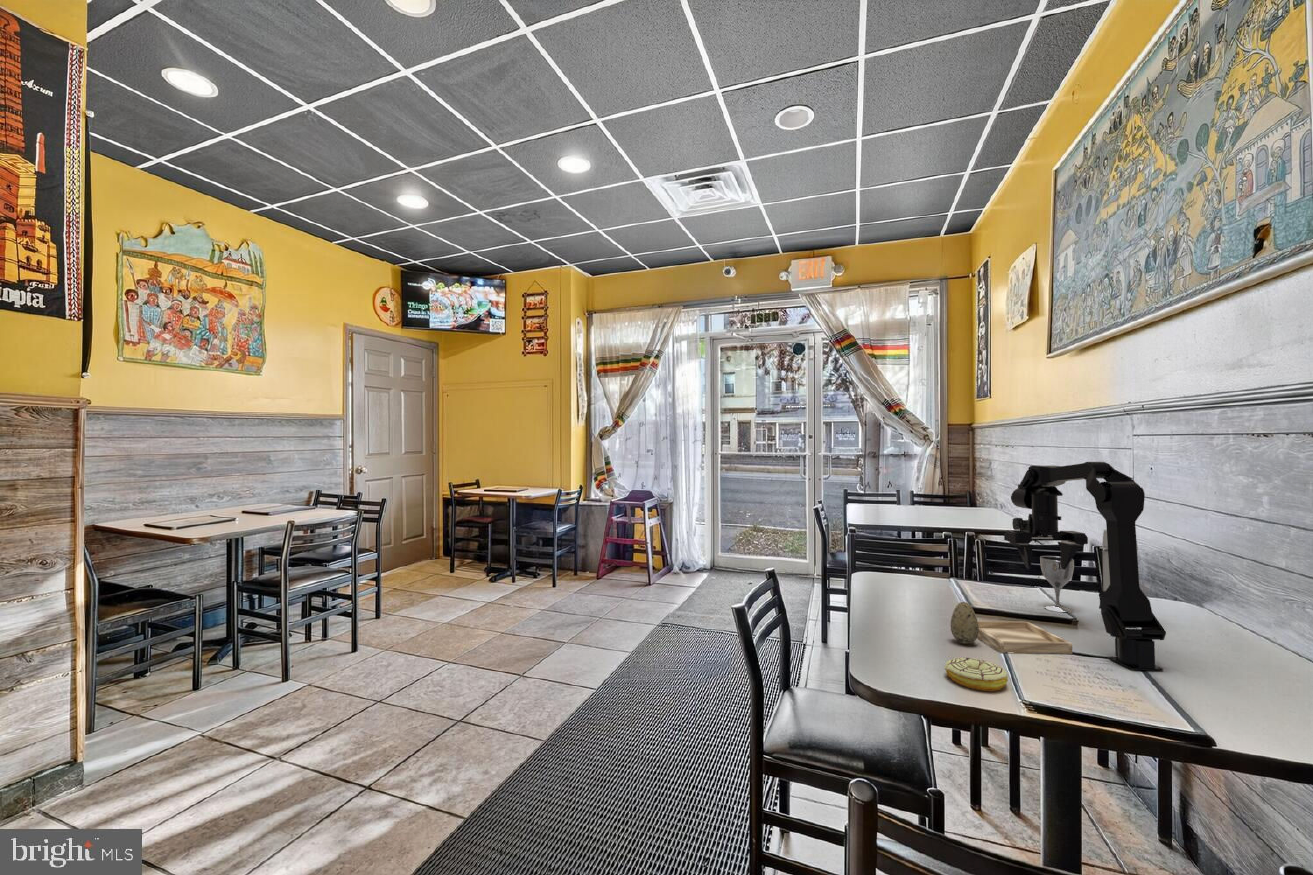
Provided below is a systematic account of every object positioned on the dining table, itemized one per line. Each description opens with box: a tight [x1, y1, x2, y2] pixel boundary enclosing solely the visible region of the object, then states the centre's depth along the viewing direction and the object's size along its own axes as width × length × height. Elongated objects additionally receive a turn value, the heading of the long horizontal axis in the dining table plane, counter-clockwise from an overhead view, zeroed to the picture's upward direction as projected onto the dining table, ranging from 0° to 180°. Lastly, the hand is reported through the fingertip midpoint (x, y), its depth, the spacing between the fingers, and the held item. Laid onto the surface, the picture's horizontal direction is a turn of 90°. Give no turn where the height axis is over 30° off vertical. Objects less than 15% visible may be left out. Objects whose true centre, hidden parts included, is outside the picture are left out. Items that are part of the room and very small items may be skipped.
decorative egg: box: [950, 601, 979, 645], centre depth 130 cm, size 6×6×10 cm
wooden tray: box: [977, 620, 1073, 655], centre depth 131 cm, size 16×16×2 cm
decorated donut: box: [944, 657, 1009, 692], centre depth 109 cm, size 10×11×4 cm
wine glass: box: [1039, 555, 1075, 614], centre depth 158 cm, size 8×8×15 cm
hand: (1045, 569), depth 145 cm, fingers open, 9 cm apart
